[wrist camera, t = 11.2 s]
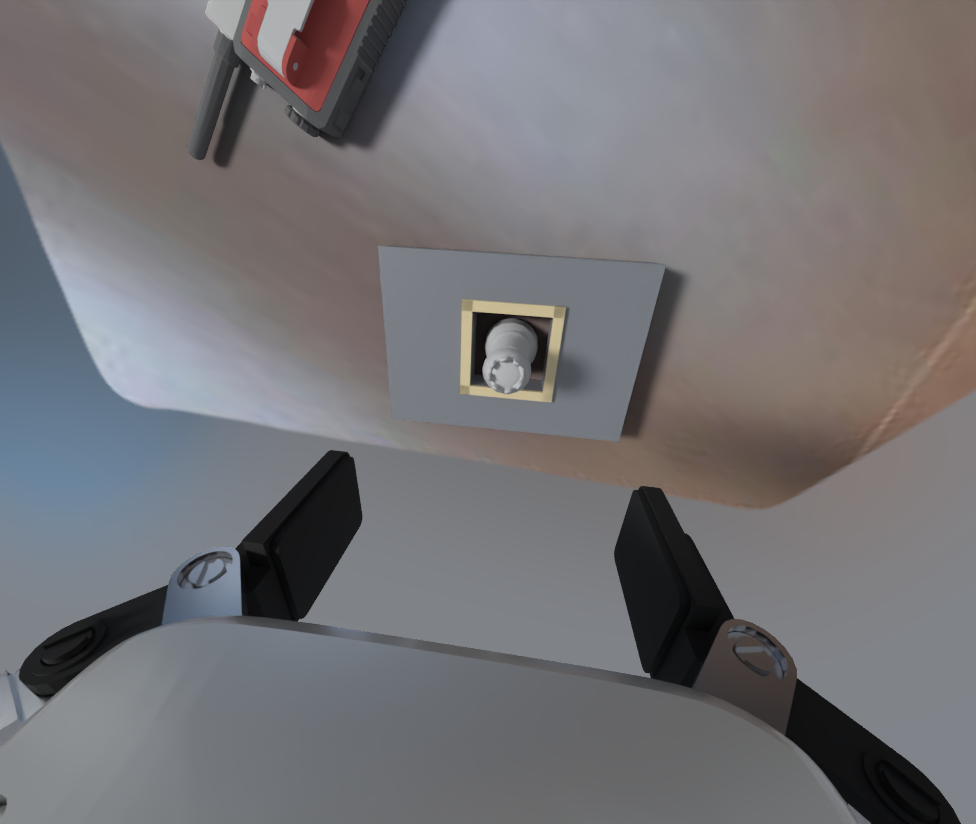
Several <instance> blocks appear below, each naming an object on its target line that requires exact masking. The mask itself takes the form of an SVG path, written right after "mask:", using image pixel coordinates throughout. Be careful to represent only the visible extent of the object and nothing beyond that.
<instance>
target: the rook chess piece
mask: <svg viewBox="0 0 976 824" xmlns="http://www.w3.org/2000/svg"><path fill="white" fill-rule="evenodd" d="M537 349H538V339H537V335H536V333H535V332H534V330H533V328H532V327H531V326H530V325H529V324H527V323H526V322H525V321H523V320H519V319H516V318H509V319H503V320H501V321H499V322H497V323H496V324H494V325H493V326H492V328H491V329H490V330H489V331H488V333H487V337H486V341H485V352H486V356H487V358H486V359H485V361H484V365H483V369H482V370H483V377H484V379H485V381H486V383H487V384H488V386H489V387H491V388H492V389H493V390H494V391H496V392H500V393H503V394H504V395H505V394H512V393H515V392H517V391H519V390H521V389H523V388H524V387H525V386H526V384H527V383H528V382H529V379H530V376H531V365H530V364H531V363H532V362H533V361H534V359H535V356H536V353H537Z"/></svg>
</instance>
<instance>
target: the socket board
mask: <svg viewBox="0 0 976 824" xmlns="http://www.w3.org/2000/svg"><path fill="white" fill-rule="evenodd" d="M378 253H379V265H380V277H381V290H382V302H383V314H384V326H385V339H386V351H387V363H388V375H389V388H390V400H391V412H392V419H401V420H411V421H421V422H431V423H440V424H450V425H460V426H470V427H480V428H489V429H499V430H509V431H519V432H529V433H538V434H548V435H558V436H568V437H578V438H588V439H597V440H607V441H617V442H619V439H620V435H621V431H622V427H623V424H624V420H625V416H626V413H627V409H628V405H629V401H630V398H631V394H632V390H633V386H634V383H635V379H636V375H637V372H638V368H639V364H640V360H641V357H642V353H643V349H644V345H645V342H646V338H647V334H648V330H649V327H650V323H651V319H652V316H653V312H654V308H655V304H656V301H657V297H658V293H659V289H660V286H661V282H662V278H663V275H664V271H665V267H666V265H665V264H659V263H653V262H637V261H622V260H606V259H591V258H576V257H560V256H545V255H530V254H514V253H499V252H483V251H468V250H453V249H437V248H422V247H406V246H391V245H390V246H378ZM477 312H485V313H498V314H511V315H524V316H537V317H550V323H549V331H548V338H547V345H546V353H545V360H544V367H543V375H542V380H534V379H529V382H528V383H527V384H526V386H525V387H524V388H523V389H521V390H519V391H517V392H515V393H512V394H505V395H504V394H503V393H500V392H496V391H494V390H493V389H492V388H491V387H489V386H488V384H487V383H486V381H485V379H484V377H483V375H479V374H475V353H476V328H477Z"/></svg>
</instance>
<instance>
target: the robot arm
mask: <svg viewBox="0 0 976 824" xmlns="http://www.w3.org/2000/svg"><path fill="white" fill-rule="evenodd" d="M361 522H362V511H361V503H360V496H359V489H358V484H357V476H356V470H355V463H354V459H353V457H350V455H349V453H347V452H342V451H333V450H330V451H328V452H327V453H326V454H325V455H324V456H323V457H322V458H321V459H320V460H319V461H318V463H317V464H316V465H315V466H314V467H313V468H312V469H311V470H310V471H309V472H308V473H307V474H306V475H305V476H304V477H303V478H302V479H301V480H300V481H299V482H298V483H297V484H296V485H295V486H294V487H293V488H292V489H291V490H290V491H289V492H288V494H287V495H286V496H285V497H284V498H283V499H282V500H281V501H280V502H279V503H278V504H277V505H276V506H275V507H274V508H273V509H272V510H271V511H270V512H269V513H268V514H267V515H266V516H265V517H264V518H263V520H261V521H260V522H259V524H258V525H257V526H256V527H255V528H254V529H253V530H252V531H251V532H250V533H249V534H248V535H247V536H246V537H245V538H244V539H243V540H242V542H241V543H240V544H239V545H238V546H237V548H236V549H234V548H231V547H215V548H211V549H207V550H204V551H202V552H200V553H197V554H195V555H194V556H192V557H191V558H189V559H187V560H186V561H185V562H183V563H182V564H181V565H180V566H179V567H178V568H177V569H176V570H175V571H174V573H173V574H172V575H171V578H170V580H169V584H168V585H167V586H164V587H162V588H159V589H157V590H154V591H152V592H149V593H147V594H144V595H142V596H139V597H137V598H134V599H132V600H129V601H127V602H124V603H122V604H120V605H117V606H115V607H112V608H110V609H107V610H105V611H102V612H100V613H97V614H95V615H92V616H90V617H88V618H85V619H82V620H80V621H77V622H75V623H73V624H71V625H69V626H67V627H65V628H63V629H61V630H60V631H58V632H56V633H55V634H54V635H52V636H50V637H49V638H47V639H46V640H45V641H44V642H43V643H41V644H40V645H39V646H38V647H36V648H35V649H34V650H33V652H32V653H31V654H30V655H29V656H28V657H27V658H26V659H25V661H24V663H23V665H22V667H21V668H20V669H19V670H18V671H16V672H14V673H12V674H10V673H9V672H8V671H7V670H6V671H4V672H2V673H0V824H961V823H960V821H959V819H958V817H957V815H956V814H955V812H954V810H953V808H952V807H951V805H950V804H949V803H948V801H947V800H946V799H945V797H944V796H943V795H942V793H941V792H940V791H939V790H938V788H937V787H936V786H934V784H933V783H932V782H931V781H930V780H929V779H928V778H927V777H926V776H925V775H924V774H923V773H922V772H921V771H920V770H918V769H917V768H916V767H915V766H914V765H913V764H911V763H910V762H909V761H908V760H906V759H905V758H904V757H902V756H901V755H900V754H898V753H897V752H896V751H894V750H893V749H892V748H890V747H889V746H888V745H886V744H885V743H884V742H882V741H881V740H880V739H878V738H877V737H876V736H874V735H873V734H872V733H870V732H869V731H868V730H866V729H865V728H863V727H862V726H861V725H859V724H858V723H857V722H855V721H854V720H853V719H851V718H850V717H849V716H847V715H846V714H845V713H843V712H842V711H841V710H839V709H838V708H837V707H835V706H834V705H833V704H831V703H830V702H828V701H827V700H826V699H824V698H823V697H822V696H820V695H819V694H818V693H816V692H815V691H814V690H812V689H811V688H810V687H808V686H807V685H805V684H804V683H803V682H802V681H800V680H799V679H798V678H797V669H796V666H795V664H794V661H793V659H792V657H791V656H790V654H789V653H788V651H787V650H786V648H785V647H784V646H783V645H782V644H781V643H780V642H779V641H778V640H777V639H776V638H775V637H774V636H772V635H771V634H770V633H768V632H767V631H766V630H764V629H763V628H761V627H759V626H757V625H755V624H753V623H751V622H748V621H745V620H741V619H734V617H733V615H732V613H731V612H730V610H729V608H728V606H727V604H726V602H725V600H724V598H723V597H722V595H721V593H720V591H719V589H718V587H717V585H716V583H715V581H714V579H713V578H712V576H711V574H710V572H709V570H708V568H707V566H706V565H705V563H704V561H703V559H702V557H701V555H700V554H699V551H698V549H697V548H696V546H695V544H694V542H693V540H692V539H691V537H690V536H689V535H687V534H685V533H684V531H683V529H682V528H681V526H680V524H679V522H678V520H677V518H676V516H675V514H674V512H673V510H672V508H671V506H670V504H669V503H668V500H667V499H666V497H665V495H664V493H663V491H662V490H661V489H660V488H655V487H646V486H641V487H640V488H639V490H634V491H633V493H632V496H631V499H630V502H629V505H628V509H627V512H626V515H625V518H624V521H623V524H622V528H621V531H620V534H619V537H618V540H617V543H616V546H615V551H614V557H615V563H616V566H617V571H618V575H619V579H620V582H621V586H622V590H623V594H624V598H625V602H626V606H627V610H628V614H629V618H630V621H631V625H632V629H633V633H634V637H635V641H636V645H637V649H638V652H639V657H640V661H641V664H642V667H643V670H644V672H645V673H650V677H651V678H647V677H641V676H636V675H630V674H625V673H619V672H614V671H608V670H603V669H597V668H591V667H585V666H579V665H573V664H567V663H560V662H555V661H549V660H542V659H536V658H530V657H524V656H518V655H512V654H506V653H500V652H493V651H487V650H481V649H474V648H468V647H462V646H454V645H449V644H443V643H436V642H430V641H423V640H417V639H411V638H403V637H397V636H391V635H384V634H378V633H371V632H365V631H358V630H352V629H345V628H338V627H332V626H325V625H319V624H311V623H303V622H298V620H299V619H302V618H304V617H305V616H306V615H307V613H308V612H309V610H310V608H311V607H312V605H313V603H314V602H315V600H316V599H317V597H318V595H319V594H320V592H321V590H322V589H323V587H324V585H325V583H326V582H327V580H328V579H329V577H330V575H331V574H332V572H333V570H334V569H335V567H336V565H337V564H338V562H339V560H340V559H341V557H342V555H343V554H344V552H345V550H346V549H347V547H348V545H349V544H350V542H351V540H352V539H353V537H354V535H355V534H356V532H357V530H358V529H359V527H360V525H361Z"/></svg>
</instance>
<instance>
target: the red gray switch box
mask: <svg viewBox="0 0 976 824" xmlns="http://www.w3.org/2000/svg"><path fill="white" fill-rule="evenodd" d="M405 2H406V0H209V1H208V5H207V9H206V12H205V14H206V16H207V17H208V18H209V19H210V20H211V21H213V22H214V23H215V24H216V25H217V26H218V27H219V31H218V34H217V37H216V40H215V44H214V47H213V48H214V51H215V55H214V58H213V62H212V65H211V68H210V72H209V75H208V78H207V82H206V85H205V88H204V92H203V95H202V98H201V102H200V105H199V108H198V112H197V115H196V118H195V122H194V125H193V128H192V132H191V135H190V138H189V142H188V145H187V150H188V152H189V154H190V155H191V156H192V157H193V158H195V159H197V160H203V159H204V158H205V156H206V153H207V150H208V147H209V144H210V141H211V138H212V135H213V132H214V129H215V126H216V122H217V119H218V116H219V113H220V110H221V107H222V104H223V101H224V98H225V95H226V92H227V89H228V86H229V82H230V79H231V76H232V73H233V70H234V68H236V67H238V66H239V63H240V60H241V59H242V60H243V61H244V62H245V63H246V64H247V65H248V66H249V67H250V69H251V70H252V74H251V77H250V78H251V79H252V80H253V81H254V82H255V83H256V84H258V85H259V86H260V87H262V88H264V89H265V88H266V86H267V84H269V85H270V86H271V87H272V88H273V89H274V90H275V91H276V92H277V93H279V94H280V95H281V96H282V97H283V98H284V99H285V100H286V101H287V102H288V103H289V104H291V105H292V106H293V107H292V106H290V105H287V106H286V109H285V113H286V115H287V116H288V117H289V119H290V120H292V121H293V122H294V123H295V124H296V125H297V126H299V127H300V128H301V129H303V130H304V131H305V132H307V133H308V134H309V135H311V136H313V137H318V135H319V133H320V131H319V130H321V131H323V132H325V133H327V134H329V135H331V136H333V137H335V138H338V137H340V136H343V133H344V131H345V129H346V127H347V125H348V123H349V121H350V119H351V117H352V115H353V113H354V111H355V109H356V107H357V105H358V103H359V101H360V99H361V97H362V94H363V92H364V90H365V88H366V86H367V84H368V82H369V80H370V78H371V76H372V74H373V72H374V70H373V68H374V66H375V64H378V58H379V56H380V55H382V49H383V47H384V46H386V45H387V42H386V41H387V39H388V37H391V35H392V34H391V31H392V29H393V27H396V21H397V18H398V17H399V18H400V16H401V13H400V12H401V10H402V8H403V7H404V8H405V6H406V4H405Z"/></svg>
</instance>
